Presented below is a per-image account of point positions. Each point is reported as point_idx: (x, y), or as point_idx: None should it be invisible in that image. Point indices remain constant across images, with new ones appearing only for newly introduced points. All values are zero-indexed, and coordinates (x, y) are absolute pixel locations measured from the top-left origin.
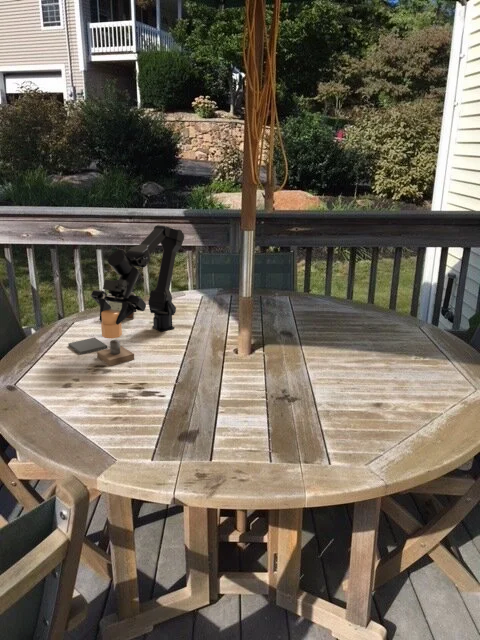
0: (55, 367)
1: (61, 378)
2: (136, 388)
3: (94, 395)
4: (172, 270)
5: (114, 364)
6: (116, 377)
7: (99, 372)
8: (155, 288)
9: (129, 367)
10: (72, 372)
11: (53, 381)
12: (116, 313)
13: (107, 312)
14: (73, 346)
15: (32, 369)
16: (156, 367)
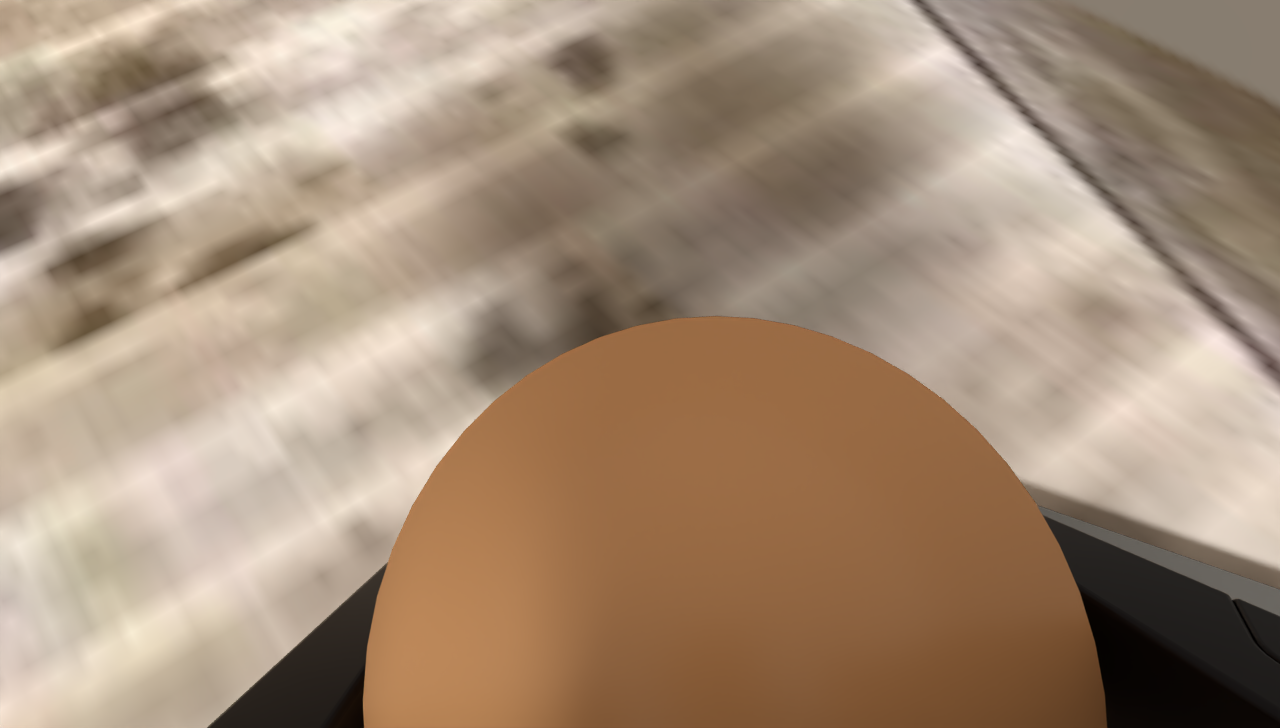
0: (902, 202)
1: (704, 108)
2: (105, 243)
3: (333, 53)
4: None
5: None
6: (354, 305)
7: (539, 304)
8: None
9: (364, 520)
10: (720, 204)
11: (711, 60)
12: (440, 661)
13: (817, 560)
14: (1198, 568)
15: (996, 107)
16: (101, 676)
